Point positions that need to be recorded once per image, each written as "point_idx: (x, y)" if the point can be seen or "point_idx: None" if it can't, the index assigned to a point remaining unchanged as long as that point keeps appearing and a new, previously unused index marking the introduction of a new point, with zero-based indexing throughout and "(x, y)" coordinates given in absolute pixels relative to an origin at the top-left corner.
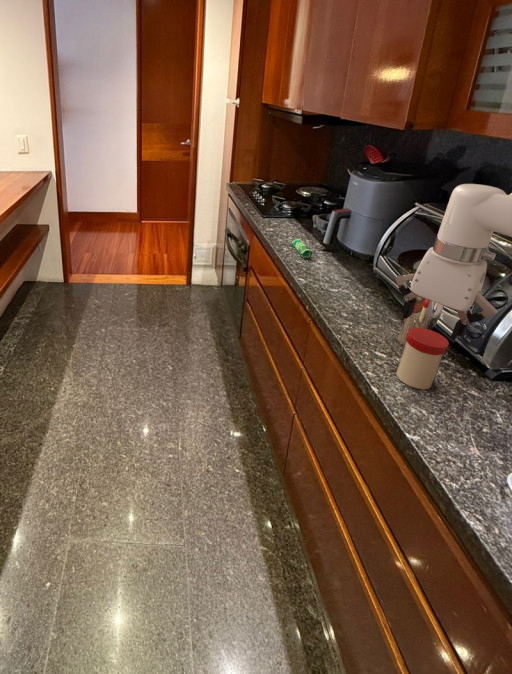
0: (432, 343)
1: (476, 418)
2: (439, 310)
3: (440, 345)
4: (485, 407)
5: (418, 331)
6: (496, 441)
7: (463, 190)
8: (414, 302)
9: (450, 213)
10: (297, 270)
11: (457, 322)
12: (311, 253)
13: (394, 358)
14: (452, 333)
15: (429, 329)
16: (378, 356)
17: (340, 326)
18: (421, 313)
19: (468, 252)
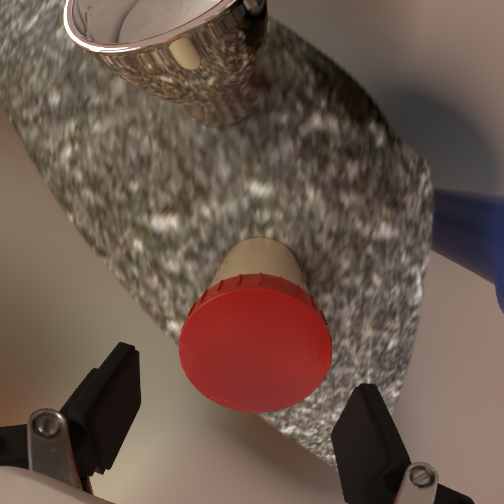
0: (276, 391)
1: (383, 323)
2: (255, 39)
3: (303, 386)
4: (402, 271)
5: (211, 339)
6: (402, 357)
7: None
8: (101, 436)
9: None
10: None
11: (351, 502)
12: None
13: (199, 214)
14: (336, 454)
15: (248, 83)
16: (164, 237)
17: (59, 166)
18: (185, 94)
19: None
